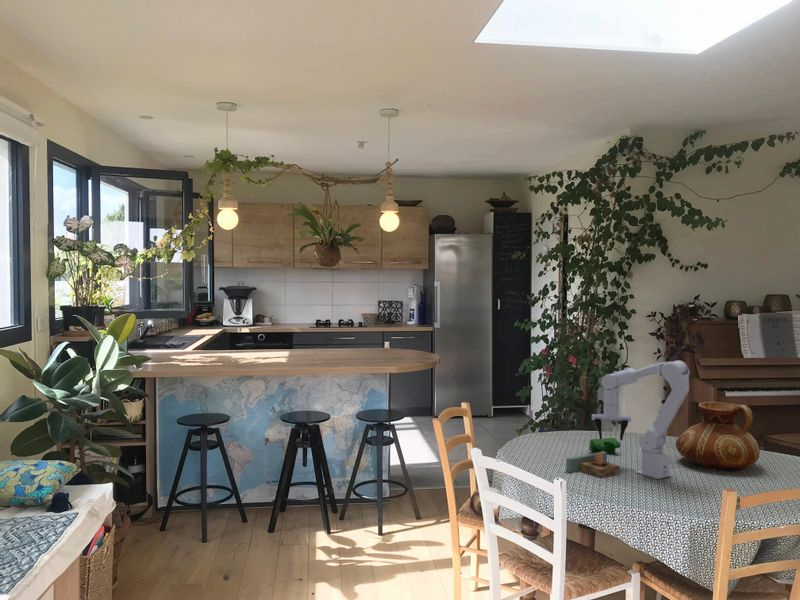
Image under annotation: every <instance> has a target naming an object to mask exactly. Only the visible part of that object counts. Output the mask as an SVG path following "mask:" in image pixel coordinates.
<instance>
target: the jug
mask: <svg viewBox="0 0 800 600" xmlns="http://www.w3.org/2000/svg"><path fill="white" fill-rule="evenodd" d="M697 407H698V409H699V410H700V413H701V416H702V417H703V421H702V422H700V423H697V424H695V425H692V426H690V427H688V428H687V429H686V430H685V431H683V432H682V433H681V434H680V435H679V436H678V437H677V439H676V440H675V447H676V450H677V452H678V454H680V456H682V457H684V458H685V459H687V460H688V461H690V462H691V463H692V464H694V465H696V466H698V467H700V466H701V468H703V467H704V468H705V469H708V468H709V469H708V470H712V469H715V471H720V470H722V471H721V472H740V471H742V470H745V469H746V468H749V467H751V466H752V465H754V464H756V463H757V461H758V460H759V457H760V453H761V452H760V451H761V450H760V447H759V443H758V442H757V440H756V439H755V438H754V437H753V436H752V434H751V433H749V429H750V428H751V425H752V422H753V419H754V418H753V411H752V410H751V408H750V407H749V406H747V405H746V404H740V405H739V404H735V403H730V402H721V401H720V402H719V401H718V402H717V401H702V402H700V403H698V404H697ZM741 410H743V413H744V421H743V424H742V426H741V427H740V426H738V425H737V424H736V421H737V418H738V416H739V414H740V412H741ZM704 468H703V469H704Z"/></svg>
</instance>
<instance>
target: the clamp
mask: <svg viewBox="0 0 800 600" xmlns="http://www.w3.org/2000/svg"><path fill="white" fill-rule="evenodd" d="M620 448H621V442H620V441H618V439H616V437H615V438H614V437H609V438H607V437H606V438H602V439H600V438H592V439H590V442H589V451H590V452H591V454H592V453H597V452H602V451H603V452H607V453H609V454H612V455H613V454H615V455H616V449H620Z"/></svg>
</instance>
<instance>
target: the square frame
mask: <svg viewBox="0 0 800 600" xmlns="http://www.w3.org/2000/svg"><path fill="white" fill-rule="evenodd" d="M579 472H582V473H585V474H588V475H591V476H594V477H598V478H600V479H601V478H606V477H610V476H615V474H616V475H619V474H620V465H618V464H615V463H611V462H608V461H607V462H605V461H603V467H599V466H595V460H594V461H588V462H583V463H580V471H579Z"/></svg>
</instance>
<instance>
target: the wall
mask: <svg viewBox="0 0 800 600" xmlns="http://www.w3.org/2000/svg"><path fill="white" fill-rule="evenodd" d="M597 453H603V461H605V462H608V458H607V457H608V452H603V451H602V452H597ZM565 459H566V460H565V461H566V464H565V467H566V468H565V469H566V470H565V471H566V472H567V473H570V474H571V473H575V472H581V471H580V463H583V462H588V461H594V460H595V453H592V452H591V453H587V454H582V455H577V456H571V457H567V458H565Z"/></svg>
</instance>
